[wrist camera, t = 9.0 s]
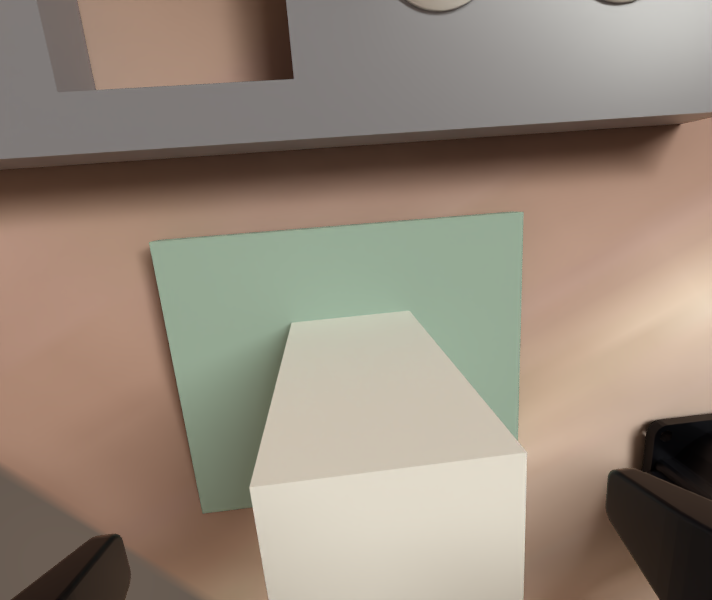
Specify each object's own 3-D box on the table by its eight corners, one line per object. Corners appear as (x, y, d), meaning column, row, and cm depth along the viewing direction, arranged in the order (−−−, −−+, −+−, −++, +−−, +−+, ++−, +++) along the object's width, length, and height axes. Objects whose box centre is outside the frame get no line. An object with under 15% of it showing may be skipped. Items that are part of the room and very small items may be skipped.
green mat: (512, 211, 14) (523, 211, 13) (507, 461, 16) (516, 474, 15) (159, 239, 13) (148, 242, 12) (208, 498, 15) (202, 513, 15)
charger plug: (409, 310, 14) (527, 452, 6) (414, 416, 14) (522, 659, 7) (291, 322, 13) (249, 487, 6) (304, 428, 14) (284, 697, 6)
